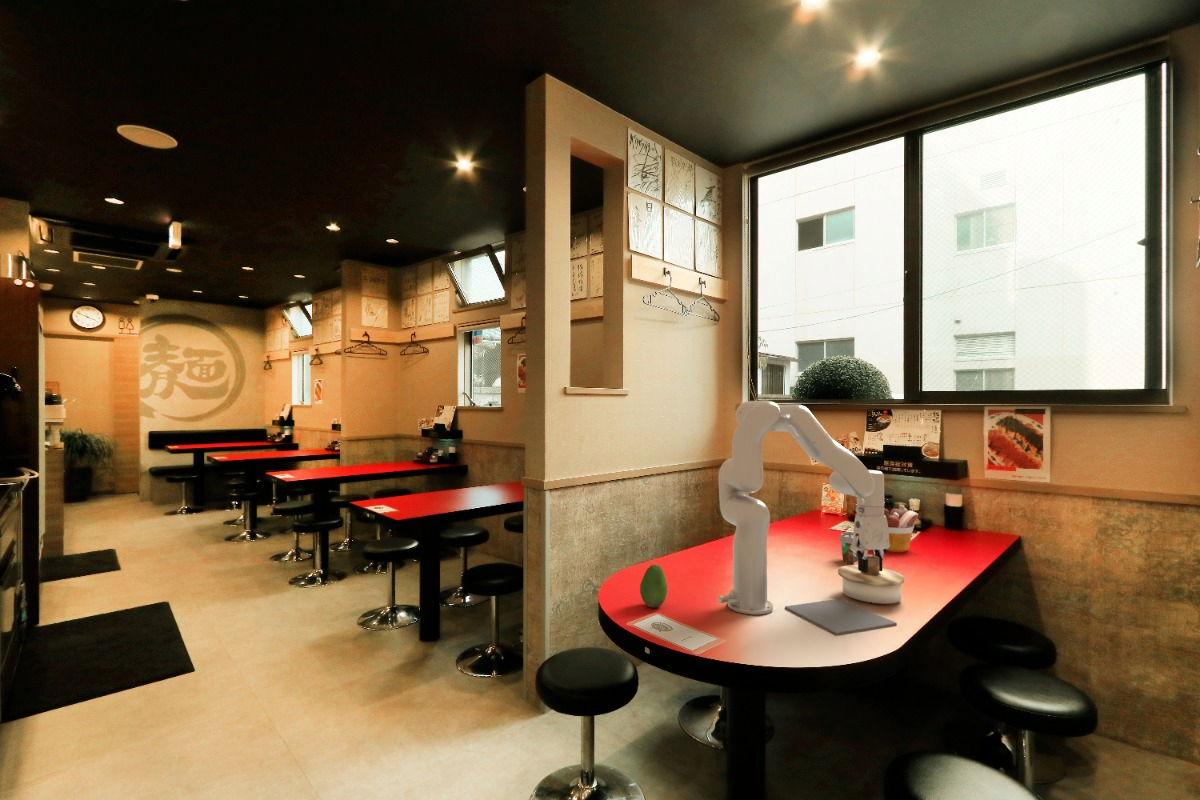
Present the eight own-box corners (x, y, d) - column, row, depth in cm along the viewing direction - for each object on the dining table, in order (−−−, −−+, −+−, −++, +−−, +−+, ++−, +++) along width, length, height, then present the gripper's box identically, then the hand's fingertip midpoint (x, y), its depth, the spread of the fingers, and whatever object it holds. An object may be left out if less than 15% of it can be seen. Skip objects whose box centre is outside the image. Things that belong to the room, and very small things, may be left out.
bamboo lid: (870, 588, 155) (871, 567, 155) (825, 570, 172) (825, 551, 172) (918, 582, 161) (918, 562, 161) (869, 566, 178) (869, 547, 178)
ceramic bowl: (872, 609, 156) (871, 588, 156) (831, 592, 171) (830, 572, 171) (914, 603, 162) (913, 582, 162) (870, 586, 177) (870, 568, 177)
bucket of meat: (886, 542, 237) (886, 496, 238) (925, 550, 223) (924, 501, 224) (857, 548, 227) (857, 500, 228) (896, 557, 213) (895, 505, 214)
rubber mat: (836, 635, 138) (836, 632, 138) (784, 608, 157) (784, 606, 157) (896, 625, 145) (896, 622, 145) (840, 600, 164) (840, 598, 164)
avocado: (672, 606, 158) (672, 564, 159) (655, 613, 153) (655, 570, 153) (651, 599, 164) (651, 559, 164) (634, 606, 158) (634, 564, 159)
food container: (844, 556, 214) (844, 530, 215) (861, 558, 211) (861, 532, 211) (835, 562, 205) (834, 536, 205) (852, 565, 201) (852, 538, 201)
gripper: (858, 514, 161) (857, 576, 160) (901, 511, 166) (901, 571, 166) (838, 510, 168) (838, 569, 167) (881, 507, 173) (881, 565, 173)
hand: (870, 570), depth 167 cm, fingers closed on bamboo lid, 5 cm apart
